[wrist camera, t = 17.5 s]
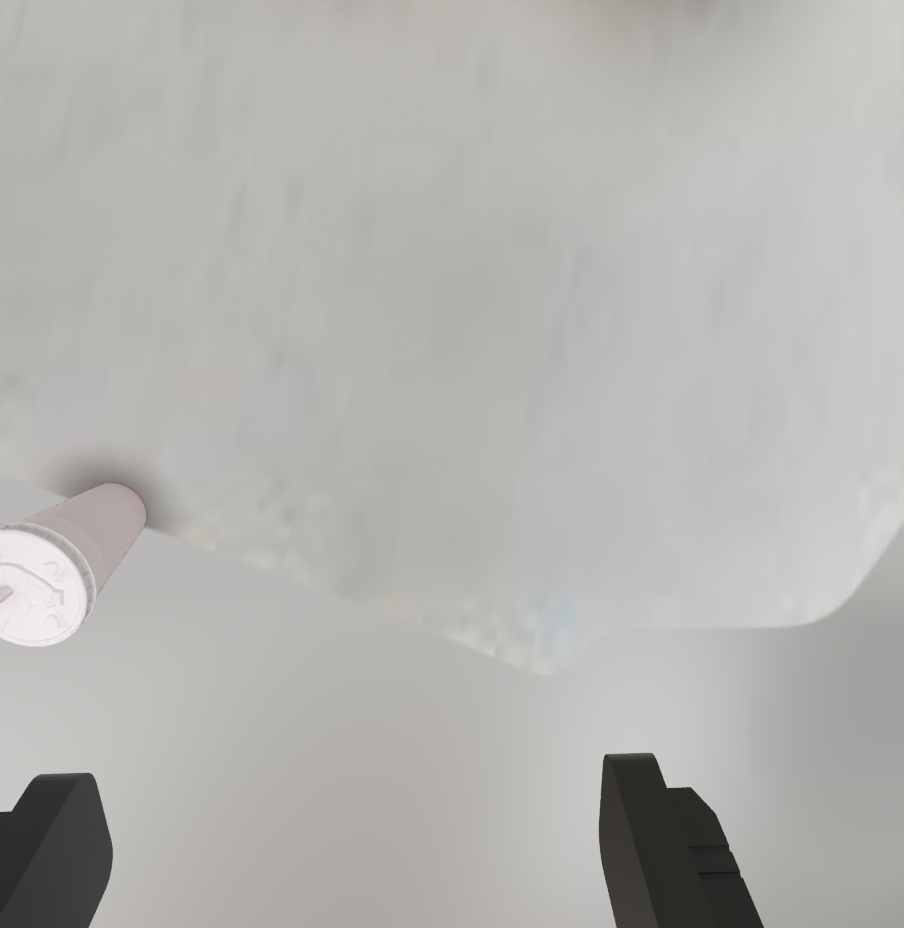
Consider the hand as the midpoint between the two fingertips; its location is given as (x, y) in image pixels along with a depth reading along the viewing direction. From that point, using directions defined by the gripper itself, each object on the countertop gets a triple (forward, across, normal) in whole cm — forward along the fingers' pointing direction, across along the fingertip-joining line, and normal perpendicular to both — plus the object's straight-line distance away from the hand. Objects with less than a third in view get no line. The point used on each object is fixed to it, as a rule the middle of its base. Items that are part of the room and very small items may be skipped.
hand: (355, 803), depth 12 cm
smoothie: (+32, -18, -10) cm, 38 cm away
